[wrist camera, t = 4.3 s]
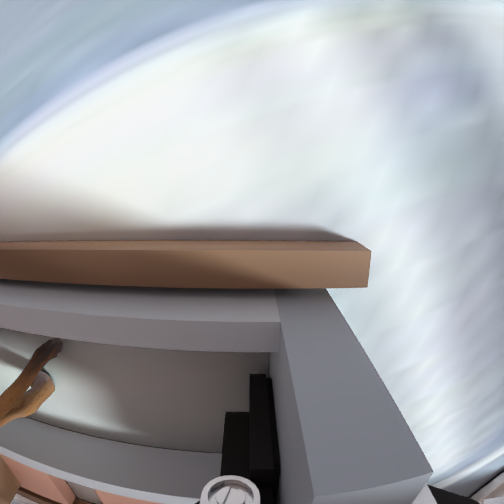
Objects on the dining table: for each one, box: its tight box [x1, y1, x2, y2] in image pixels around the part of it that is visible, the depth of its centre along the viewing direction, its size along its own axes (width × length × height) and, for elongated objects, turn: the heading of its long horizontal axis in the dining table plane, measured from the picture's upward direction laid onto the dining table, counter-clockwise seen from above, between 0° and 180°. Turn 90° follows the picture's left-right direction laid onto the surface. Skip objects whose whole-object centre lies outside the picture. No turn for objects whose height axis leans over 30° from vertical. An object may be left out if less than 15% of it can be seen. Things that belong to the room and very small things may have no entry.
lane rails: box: [0, 240, 371, 504], centre depth 10 cm, size 18×28×1 cm, turn 90°
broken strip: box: [0, 454, 164, 504], centre depth 11 cm, size 5×26×3 cm, turn 89°
